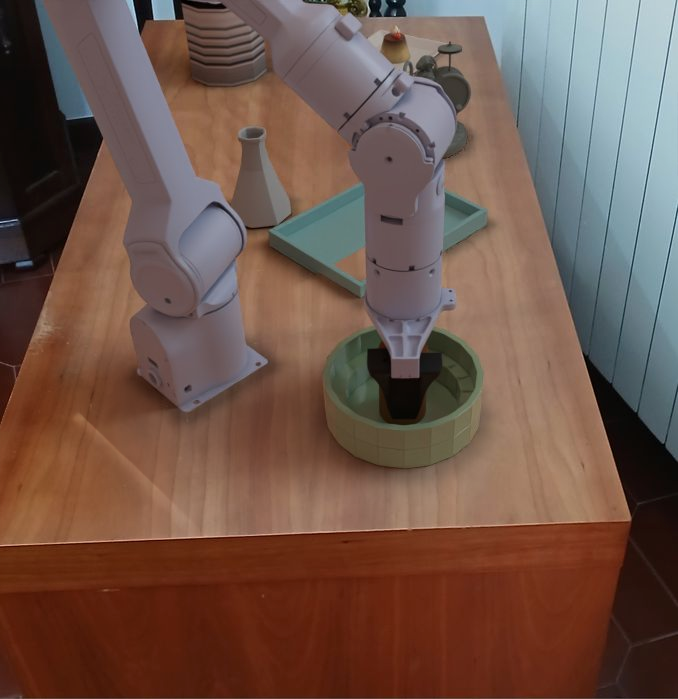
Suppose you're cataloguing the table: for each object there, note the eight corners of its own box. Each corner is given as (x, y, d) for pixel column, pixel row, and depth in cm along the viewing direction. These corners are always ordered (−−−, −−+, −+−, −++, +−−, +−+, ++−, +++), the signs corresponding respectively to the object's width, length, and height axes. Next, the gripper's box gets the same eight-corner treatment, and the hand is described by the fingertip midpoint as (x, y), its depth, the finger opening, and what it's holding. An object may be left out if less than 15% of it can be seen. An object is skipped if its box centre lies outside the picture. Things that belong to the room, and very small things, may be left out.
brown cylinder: (403, 434, 77) (403, 346, 71) (369, 410, 79) (367, 322, 73) (435, 410, 79) (439, 322, 73) (402, 387, 81) (402, 300, 75)
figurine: (375, 124, 120) (374, 34, 112) (456, 116, 120) (461, 26, 113) (389, 164, 112) (389, 70, 104) (476, 156, 112) (482, 61, 105)
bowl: (404, 499, 72) (404, 456, 69) (294, 415, 80) (290, 372, 77) (511, 414, 79) (516, 371, 76) (400, 344, 86) (401, 302, 83)
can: (178, 65, 136) (165, -18, 128) (248, 47, 140) (240, -34, 132) (207, 94, 128) (195, 8, 120) (281, 75, 132) (274, -10, 124)
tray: (360, 302, 92) (360, 286, 90) (269, 245, 100) (267, 230, 98) (486, 225, 101) (488, 209, 100) (394, 179, 109) (394, 164, 108)
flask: (283, 232, 101) (276, 151, 95) (220, 227, 103) (209, 146, 96) (299, 197, 107) (292, 118, 100) (239, 193, 108) (229, 114, 101)
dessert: (411, 82, 129) (411, 49, 125) (338, 66, 134) (336, 33, 130) (449, 50, 136) (451, 18, 133) (379, 36, 141) (379, 5, 138)
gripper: (464, 309, 62) (456, 447, 71) (452, 196, 73) (446, 327, 82) (360, 310, 63) (365, 447, 72) (364, 197, 74) (367, 328, 83)
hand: (403, 383), depth 77 cm, fingers open, 7 cm apart
